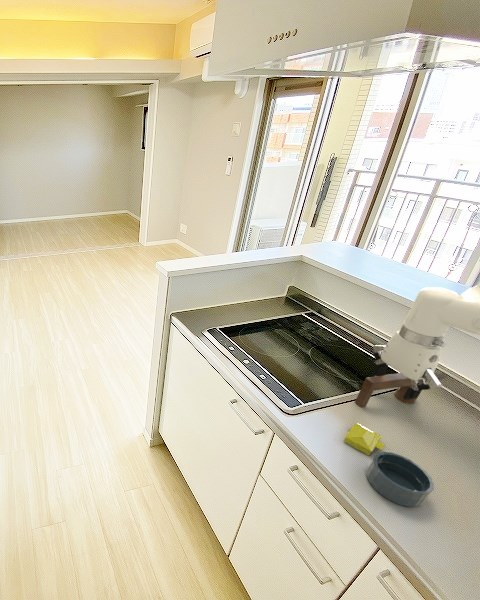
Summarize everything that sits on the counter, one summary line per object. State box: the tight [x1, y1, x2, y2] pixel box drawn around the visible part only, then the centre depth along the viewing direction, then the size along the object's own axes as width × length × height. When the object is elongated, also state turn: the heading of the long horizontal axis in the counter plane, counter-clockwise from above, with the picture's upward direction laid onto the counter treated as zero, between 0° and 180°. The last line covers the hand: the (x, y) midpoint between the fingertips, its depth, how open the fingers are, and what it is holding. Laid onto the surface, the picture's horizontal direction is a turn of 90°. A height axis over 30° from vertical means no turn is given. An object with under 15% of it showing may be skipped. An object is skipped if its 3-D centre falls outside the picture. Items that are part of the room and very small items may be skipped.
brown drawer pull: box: [354, 372, 418, 408], centre depth 92 cm, size 17×4×9 cm, turn 98°
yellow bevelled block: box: [343, 421, 390, 456], centre depth 82 cm, size 10×9×3 cm
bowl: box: [365, 451, 435, 508], centre depth 71 cm, size 10×10×5 cm
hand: (392, 386), depth 91 cm, fingers open, 8 cm apart
